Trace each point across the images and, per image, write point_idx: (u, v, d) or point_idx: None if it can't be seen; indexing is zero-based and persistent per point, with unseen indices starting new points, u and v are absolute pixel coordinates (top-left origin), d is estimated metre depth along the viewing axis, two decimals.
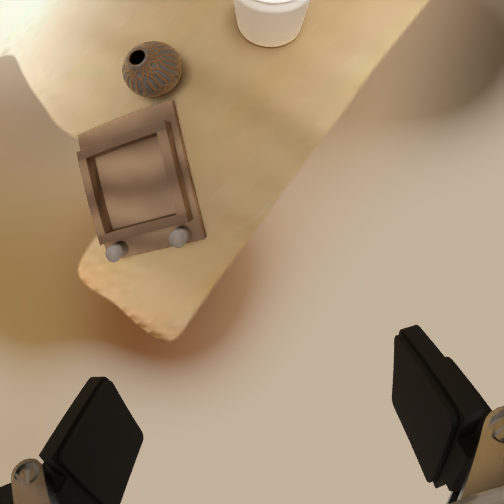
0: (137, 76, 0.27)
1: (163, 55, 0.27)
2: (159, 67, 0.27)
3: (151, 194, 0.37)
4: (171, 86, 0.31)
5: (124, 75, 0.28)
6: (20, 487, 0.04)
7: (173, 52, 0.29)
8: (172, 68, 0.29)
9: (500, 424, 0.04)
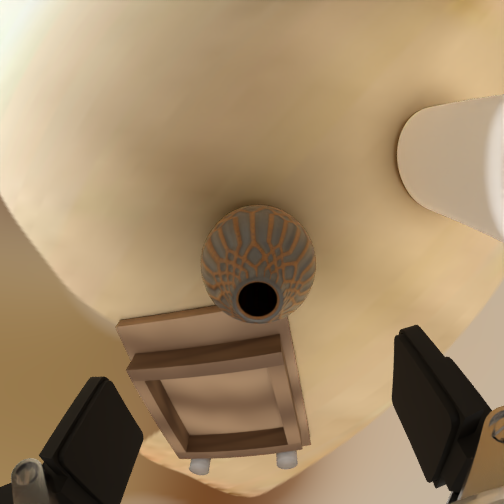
0: None
1: (303, 275, 0.16)
2: (295, 302, 0.16)
3: (247, 411, 0.26)
4: None
5: (214, 299, 0.17)
6: (20, 487, 0.04)
7: (311, 249, 0.17)
8: (310, 287, 0.18)
9: (500, 424, 0.04)
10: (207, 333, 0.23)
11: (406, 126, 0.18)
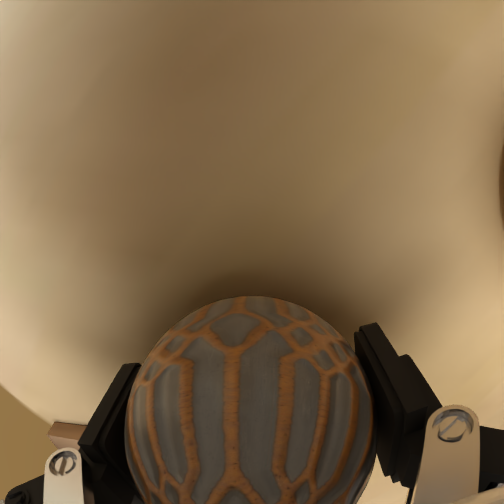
0: None
1: (356, 496, 0.05)
2: None
3: None
4: None
5: None
6: (57, 478, 0.05)
7: (375, 422, 0.06)
8: None
9: (445, 424, 0.05)
10: None
11: None
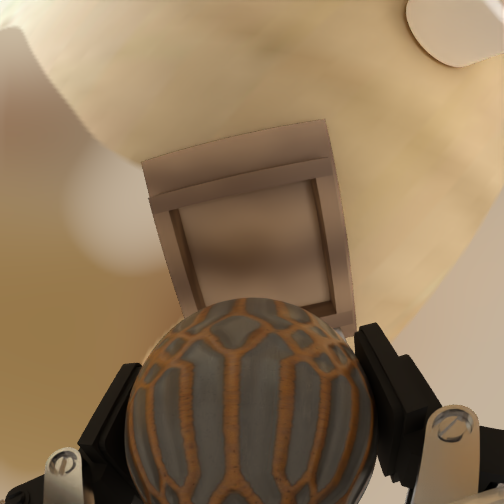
0: None
1: (356, 498, 0.05)
2: None
3: (284, 274, 0.24)
4: None
5: None
6: (57, 478, 0.05)
7: (376, 424, 0.06)
8: None
9: (444, 424, 0.05)
10: (245, 157, 0.22)
11: None
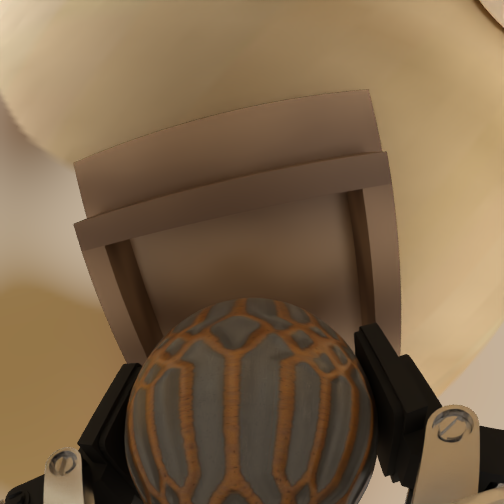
0: None
1: (357, 499, 0.05)
2: None
3: None
4: None
5: None
6: (57, 478, 0.05)
7: (376, 424, 0.06)
8: None
9: (444, 424, 0.05)
10: (236, 149, 0.13)
11: None
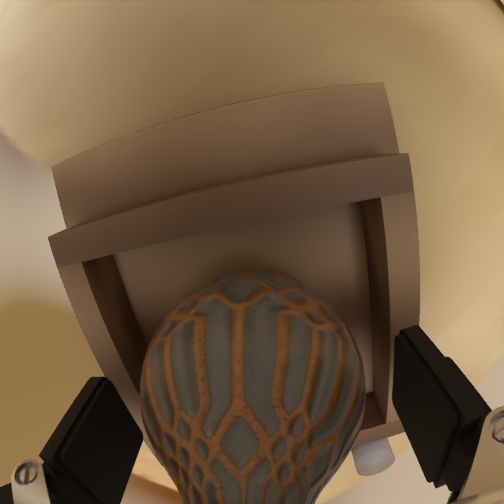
0: None
1: (347, 444, 0.06)
2: None
3: None
4: None
5: None
6: (20, 487, 0.04)
7: (363, 377, 0.07)
8: None
9: (500, 424, 0.04)
10: (232, 150, 0.11)
11: None
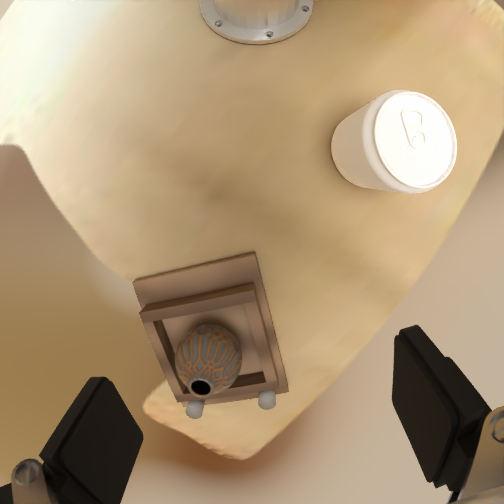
0: (201, 394, 0.28)
1: (228, 372, 0.28)
2: (225, 386, 0.28)
3: None
4: None
5: (182, 381, 0.28)
6: (20, 487, 0.04)
7: (235, 356, 0.29)
8: (236, 375, 0.29)
9: (500, 424, 0.04)
10: (201, 283, 0.33)
11: (336, 128, 0.29)
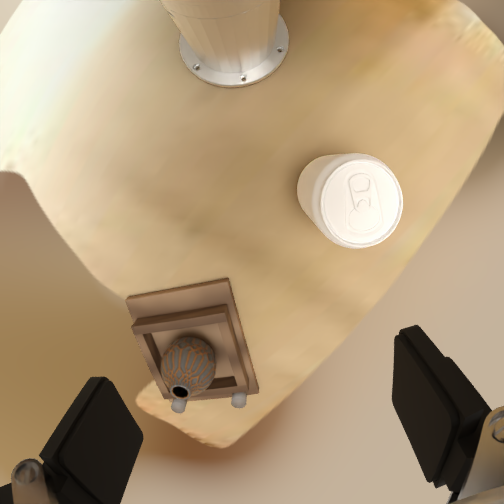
0: (181, 396, 0.33)
1: (203, 380, 0.33)
2: (200, 390, 0.34)
3: None
4: None
5: (166, 384, 0.34)
6: (20, 487, 0.04)
7: (209, 366, 0.35)
8: (211, 381, 0.35)
9: (500, 424, 0.04)
10: (182, 303, 0.38)
11: (302, 171, 0.33)
